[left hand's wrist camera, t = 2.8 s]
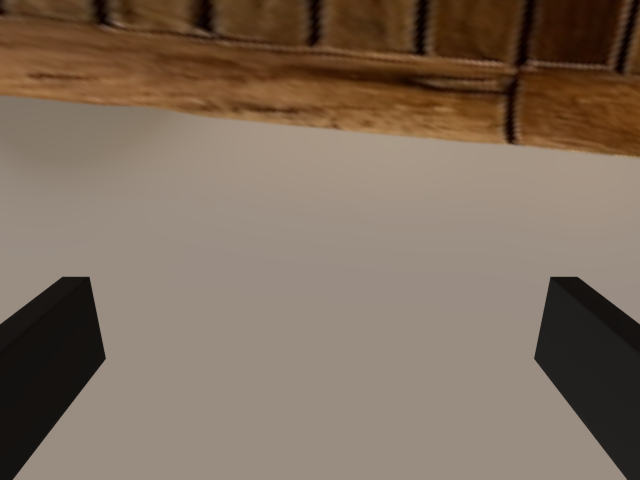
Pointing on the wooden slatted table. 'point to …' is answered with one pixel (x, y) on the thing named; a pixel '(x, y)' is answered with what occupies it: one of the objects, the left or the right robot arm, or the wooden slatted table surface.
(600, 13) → the wooden slatted table surface
